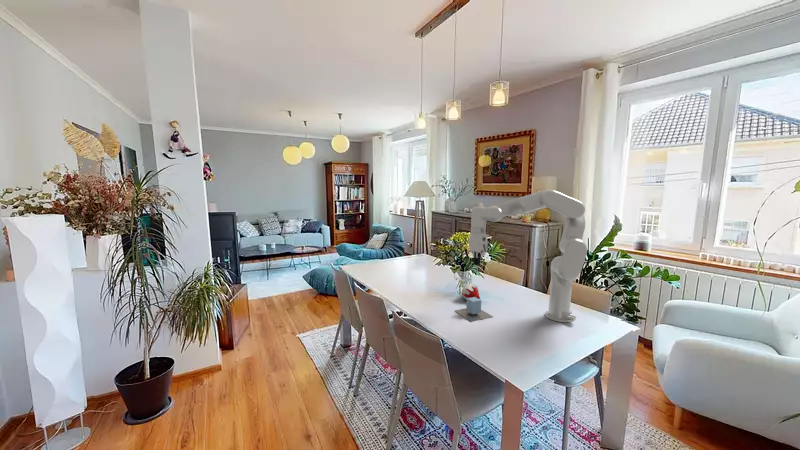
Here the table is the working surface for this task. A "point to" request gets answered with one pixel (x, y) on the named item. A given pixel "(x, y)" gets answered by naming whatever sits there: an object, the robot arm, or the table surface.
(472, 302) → the blue-grey rectangular block
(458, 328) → the table surface
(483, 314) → the square pedestal stand
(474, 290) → the red white rounded piece
